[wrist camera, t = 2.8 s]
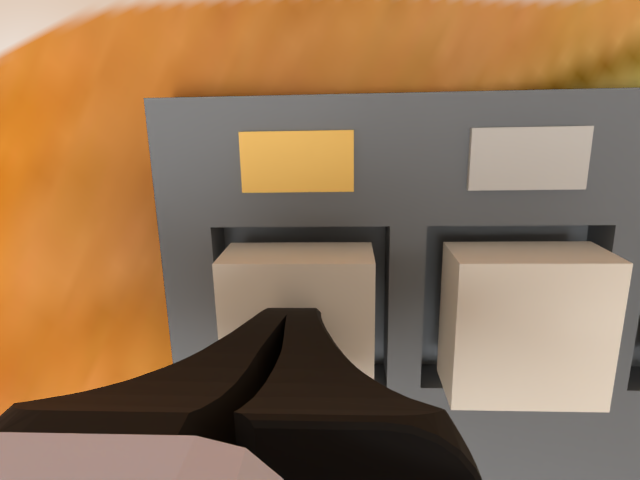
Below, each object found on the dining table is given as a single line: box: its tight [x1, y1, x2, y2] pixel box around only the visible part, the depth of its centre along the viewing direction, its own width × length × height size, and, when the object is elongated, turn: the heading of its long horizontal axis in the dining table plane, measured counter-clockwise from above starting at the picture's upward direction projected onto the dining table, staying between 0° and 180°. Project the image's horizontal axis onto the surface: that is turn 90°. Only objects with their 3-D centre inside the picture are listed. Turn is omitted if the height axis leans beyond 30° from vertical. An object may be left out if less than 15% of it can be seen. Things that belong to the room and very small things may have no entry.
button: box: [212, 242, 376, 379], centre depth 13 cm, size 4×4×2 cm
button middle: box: [437, 241, 633, 413], centre depth 13 cm, size 4×4×2 cm
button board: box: [144, 88, 640, 480], centre depth 14 cm, size 20×12×2 cm, turn 91°
